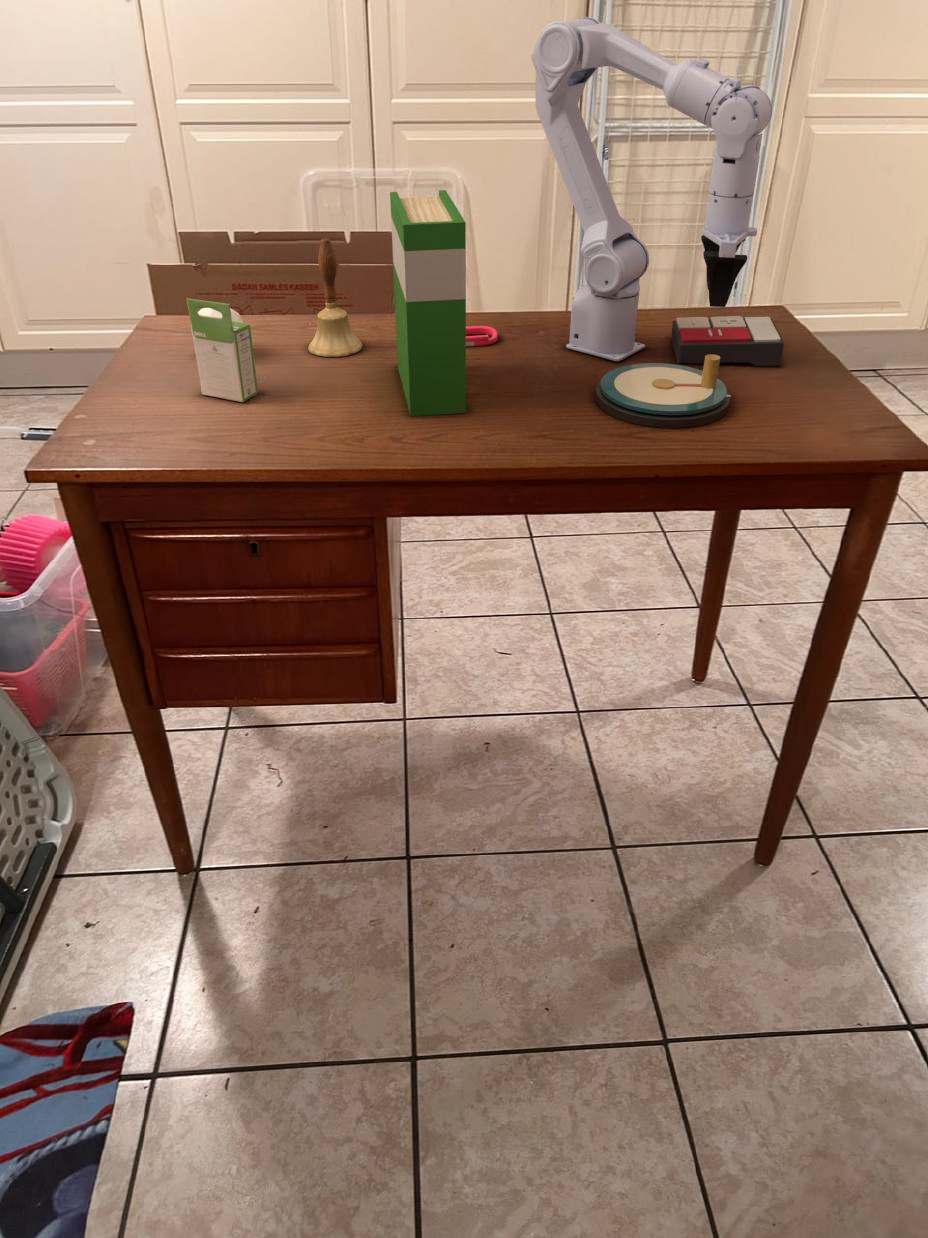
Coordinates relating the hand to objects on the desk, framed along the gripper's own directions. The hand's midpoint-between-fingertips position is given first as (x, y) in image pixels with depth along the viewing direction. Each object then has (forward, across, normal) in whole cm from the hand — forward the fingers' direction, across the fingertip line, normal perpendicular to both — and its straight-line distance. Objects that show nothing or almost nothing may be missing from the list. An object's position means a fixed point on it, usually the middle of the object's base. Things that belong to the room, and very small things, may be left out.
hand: (716, 297), depth 133 cm
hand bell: (+10, 0, +56) cm, 57 cm away
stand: (+10, -12, +6) cm, 17 cm away
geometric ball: (+10, -6, +72) cm, 73 cm away
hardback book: (+10, -14, +38) cm, 42 cm away
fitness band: (+10, +7, +36) cm, 38 cm away
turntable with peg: (+9, -13, +6) cm, 17 cm away
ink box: (+10, -20, +65) cm, 69 cm away
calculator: (+11, +8, -3) cm, 13 cm away
